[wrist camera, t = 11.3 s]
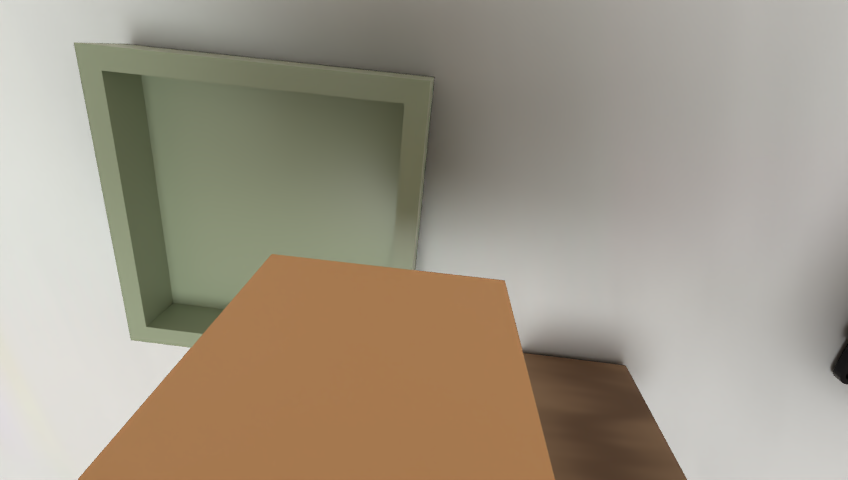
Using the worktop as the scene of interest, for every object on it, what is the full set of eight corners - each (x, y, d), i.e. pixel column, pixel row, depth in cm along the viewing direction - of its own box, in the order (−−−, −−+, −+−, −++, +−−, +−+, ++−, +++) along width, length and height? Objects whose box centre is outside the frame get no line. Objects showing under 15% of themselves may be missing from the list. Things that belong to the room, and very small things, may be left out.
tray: (434, 77, 17) (430, 81, 15) (408, 338, 22) (401, 374, 19) (126, 43, 17) (74, 42, 15) (166, 308, 22) (131, 340, 20)
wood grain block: (625, 365, 21) (701, 505, 15) (616, 391, 22) (685, 537, 15) (521, 352, 22) (549, 485, 15) (515, 379, 22) (540, 518, 16)
